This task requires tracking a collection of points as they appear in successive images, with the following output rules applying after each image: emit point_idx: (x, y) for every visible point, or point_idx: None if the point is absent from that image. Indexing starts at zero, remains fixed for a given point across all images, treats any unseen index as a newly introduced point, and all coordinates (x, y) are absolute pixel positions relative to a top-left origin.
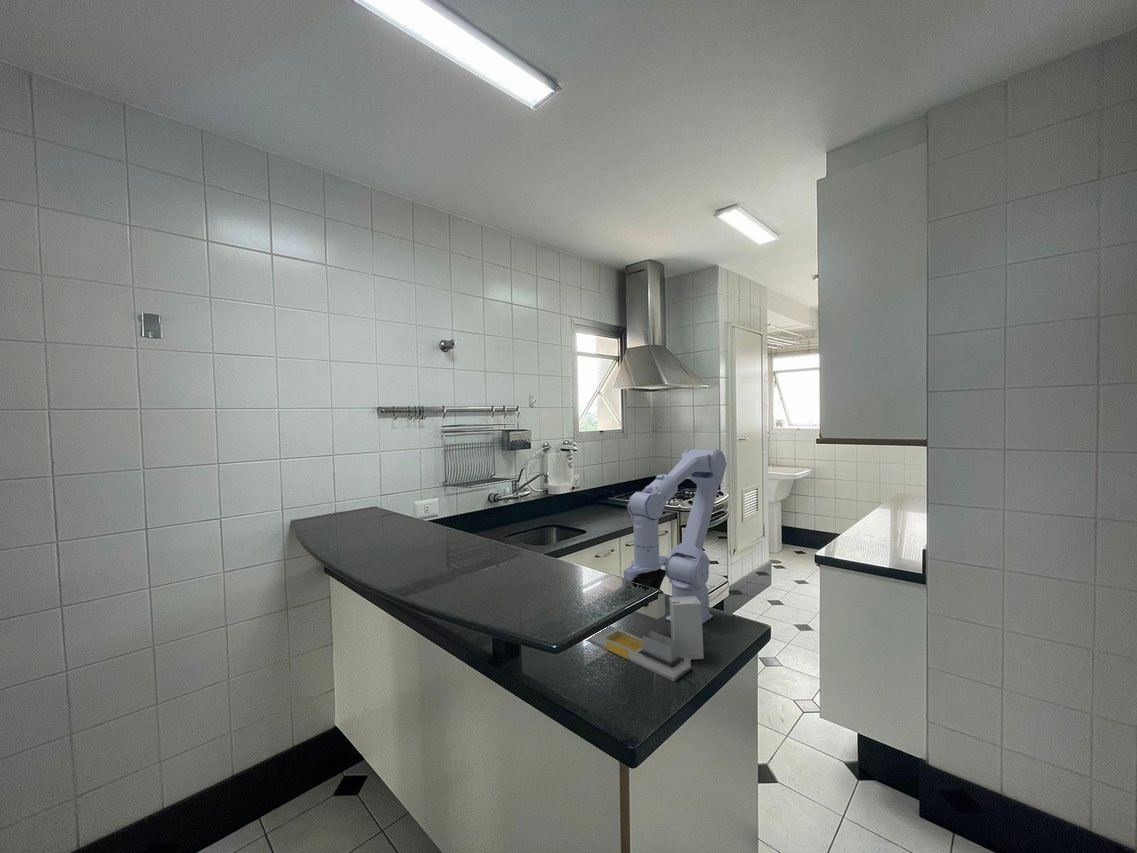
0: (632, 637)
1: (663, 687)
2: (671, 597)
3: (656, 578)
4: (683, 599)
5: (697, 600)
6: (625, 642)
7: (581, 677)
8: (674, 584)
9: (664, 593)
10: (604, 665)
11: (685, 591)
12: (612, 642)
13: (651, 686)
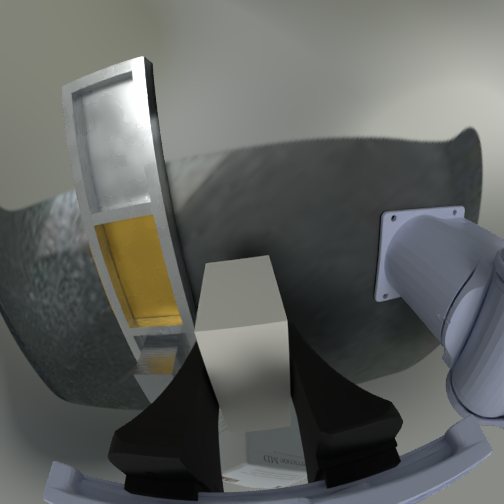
0: (168, 275)
1: (138, 385)
2: (247, 467)
3: (306, 454)
4: (261, 480)
5: (286, 485)
6: (155, 252)
7: (25, 284)
8: (460, 303)
9: (289, 425)
10: (69, 283)
11: (437, 336)
12: (99, 261)
13: (121, 374)
